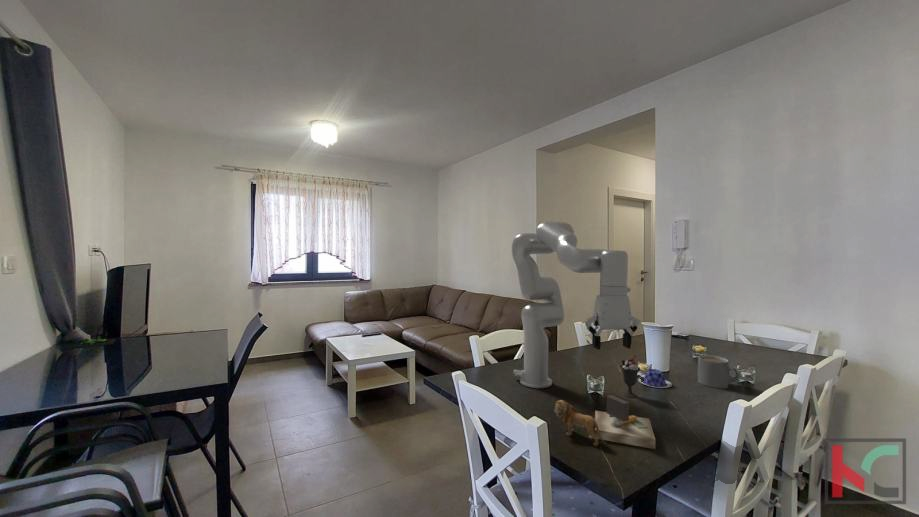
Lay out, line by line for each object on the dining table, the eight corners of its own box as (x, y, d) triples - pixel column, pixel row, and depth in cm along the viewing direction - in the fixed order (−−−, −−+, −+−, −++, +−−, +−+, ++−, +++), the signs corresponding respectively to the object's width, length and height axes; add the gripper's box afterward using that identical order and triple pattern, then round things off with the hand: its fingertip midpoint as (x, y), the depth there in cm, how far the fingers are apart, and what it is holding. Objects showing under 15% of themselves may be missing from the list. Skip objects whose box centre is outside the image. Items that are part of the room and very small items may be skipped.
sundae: (642, 399, 127) (642, 357, 127) (622, 398, 129) (622, 356, 128) (637, 392, 134) (637, 352, 134) (618, 391, 135) (618, 351, 135)
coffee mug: (694, 383, 143) (694, 358, 143) (702, 377, 150) (702, 353, 150) (735, 393, 133) (735, 366, 133) (742, 386, 140) (742, 361, 139)
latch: (623, 429, 100) (623, 403, 100) (606, 420, 105) (606, 396, 105) (644, 423, 103) (644, 398, 103) (626, 415, 109) (626, 391, 109)
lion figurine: (551, 432, 104) (551, 401, 104) (558, 425, 108) (558, 395, 108) (604, 449, 95) (604, 415, 95) (609, 441, 99) (610, 408, 99)
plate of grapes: (638, 386, 140) (638, 373, 140) (637, 377, 151) (637, 364, 151) (674, 391, 136) (674, 377, 135) (669, 381, 146) (670, 368, 146)
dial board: (594, 438, 100) (594, 428, 100) (595, 418, 113) (595, 409, 113) (655, 449, 95) (655, 438, 95) (649, 427, 107) (649, 417, 107)
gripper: (632, 289, 113) (630, 343, 114) (580, 290, 111) (578, 345, 111) (647, 292, 105) (646, 350, 106) (592, 293, 103) (590, 352, 104)
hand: (611, 347), depth 109 cm, fingers open, 9 cm apart
